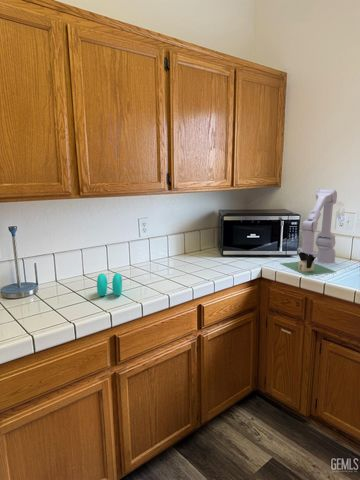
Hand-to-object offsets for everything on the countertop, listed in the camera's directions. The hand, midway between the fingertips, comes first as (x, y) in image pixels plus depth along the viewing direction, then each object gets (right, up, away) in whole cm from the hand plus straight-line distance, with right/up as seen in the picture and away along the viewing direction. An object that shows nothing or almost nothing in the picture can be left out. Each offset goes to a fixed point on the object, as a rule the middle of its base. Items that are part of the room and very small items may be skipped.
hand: (306, 266), depth 184 cm
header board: (+2, -1, +5) cm, 6 cm away
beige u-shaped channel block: (0, -2, 0) cm, 2 cm away
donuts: (-100, -10, -34) cm, 106 cm away
